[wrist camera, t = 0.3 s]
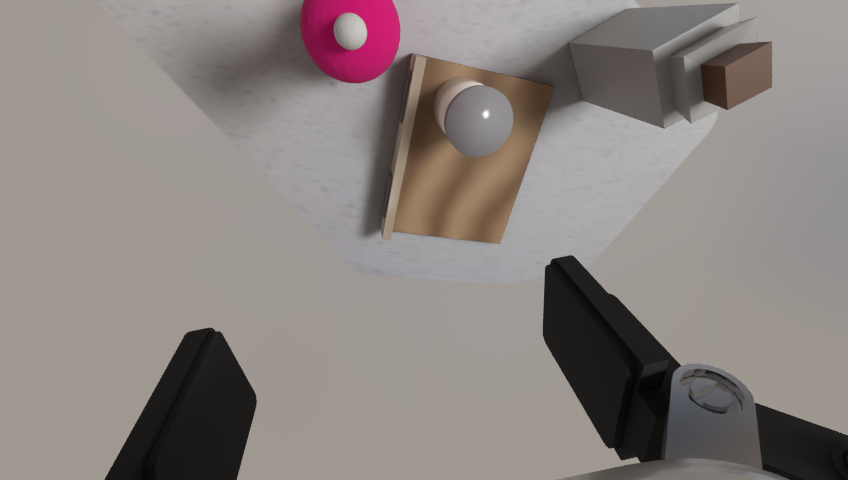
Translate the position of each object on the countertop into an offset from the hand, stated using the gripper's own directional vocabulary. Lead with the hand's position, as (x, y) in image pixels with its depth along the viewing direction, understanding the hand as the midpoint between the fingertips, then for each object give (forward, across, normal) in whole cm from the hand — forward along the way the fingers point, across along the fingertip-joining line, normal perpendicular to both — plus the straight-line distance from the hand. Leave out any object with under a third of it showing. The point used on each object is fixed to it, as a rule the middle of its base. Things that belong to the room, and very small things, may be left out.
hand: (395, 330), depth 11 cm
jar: (+34, -10, +1) cm, 35 cm away
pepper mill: (+35, 0, -7) cm, 35 cm away
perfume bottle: (+35, -26, -1) cm, 44 cm away
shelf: (+34, -10, +8) cm, 37 cm away
